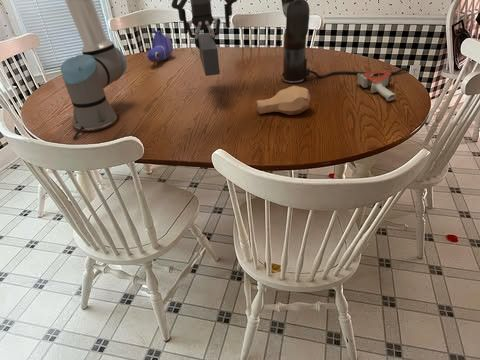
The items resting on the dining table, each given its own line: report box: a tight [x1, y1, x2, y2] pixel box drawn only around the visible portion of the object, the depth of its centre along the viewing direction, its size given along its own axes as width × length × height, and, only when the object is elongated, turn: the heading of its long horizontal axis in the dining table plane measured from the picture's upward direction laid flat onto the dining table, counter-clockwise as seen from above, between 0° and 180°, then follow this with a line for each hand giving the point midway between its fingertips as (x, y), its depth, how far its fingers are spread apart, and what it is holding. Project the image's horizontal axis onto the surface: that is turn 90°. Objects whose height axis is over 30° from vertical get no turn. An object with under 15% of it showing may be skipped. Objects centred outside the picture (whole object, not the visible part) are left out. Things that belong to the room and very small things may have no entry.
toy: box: [146, 29, 174, 67], centre depth 185 cm, size 10×17×25 cm
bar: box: [198, 32, 220, 77], centre depth 138 cm, size 23×5×9 cm, turn 10°
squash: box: [255, 85, 312, 116], centre depth 130 cm, size 11×20×9 cm, turn 92°
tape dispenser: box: [356, 69, 397, 102], centre depth 142 cm, size 18×5×20 cm
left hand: (207, 29), depth 114 cm, fingers open, 13 cm apart
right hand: (205, 47), depth 144 cm, fingers closed on bar, 5 cm apart
